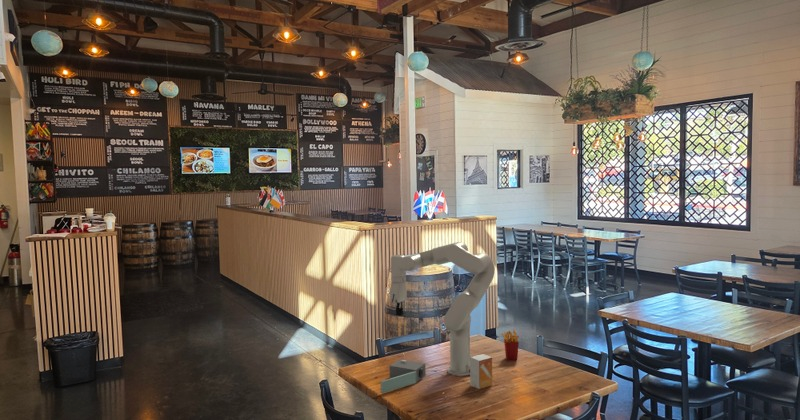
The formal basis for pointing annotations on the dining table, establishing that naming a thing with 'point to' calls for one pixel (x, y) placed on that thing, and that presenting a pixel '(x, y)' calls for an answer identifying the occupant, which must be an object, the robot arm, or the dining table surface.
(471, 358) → the small box
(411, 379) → the door
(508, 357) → the french fries
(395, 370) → the box
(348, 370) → the dining table surface
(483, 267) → the robot arm
